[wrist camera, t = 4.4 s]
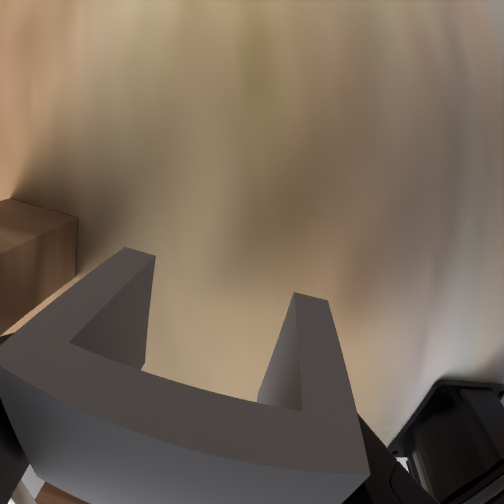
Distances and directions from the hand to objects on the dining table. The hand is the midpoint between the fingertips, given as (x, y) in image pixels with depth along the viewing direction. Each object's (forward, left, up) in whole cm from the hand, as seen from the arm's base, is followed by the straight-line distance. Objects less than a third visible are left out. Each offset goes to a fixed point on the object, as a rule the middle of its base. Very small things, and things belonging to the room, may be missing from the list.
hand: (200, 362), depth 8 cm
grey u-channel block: (0, 0, -2) cm, 2 cm away
